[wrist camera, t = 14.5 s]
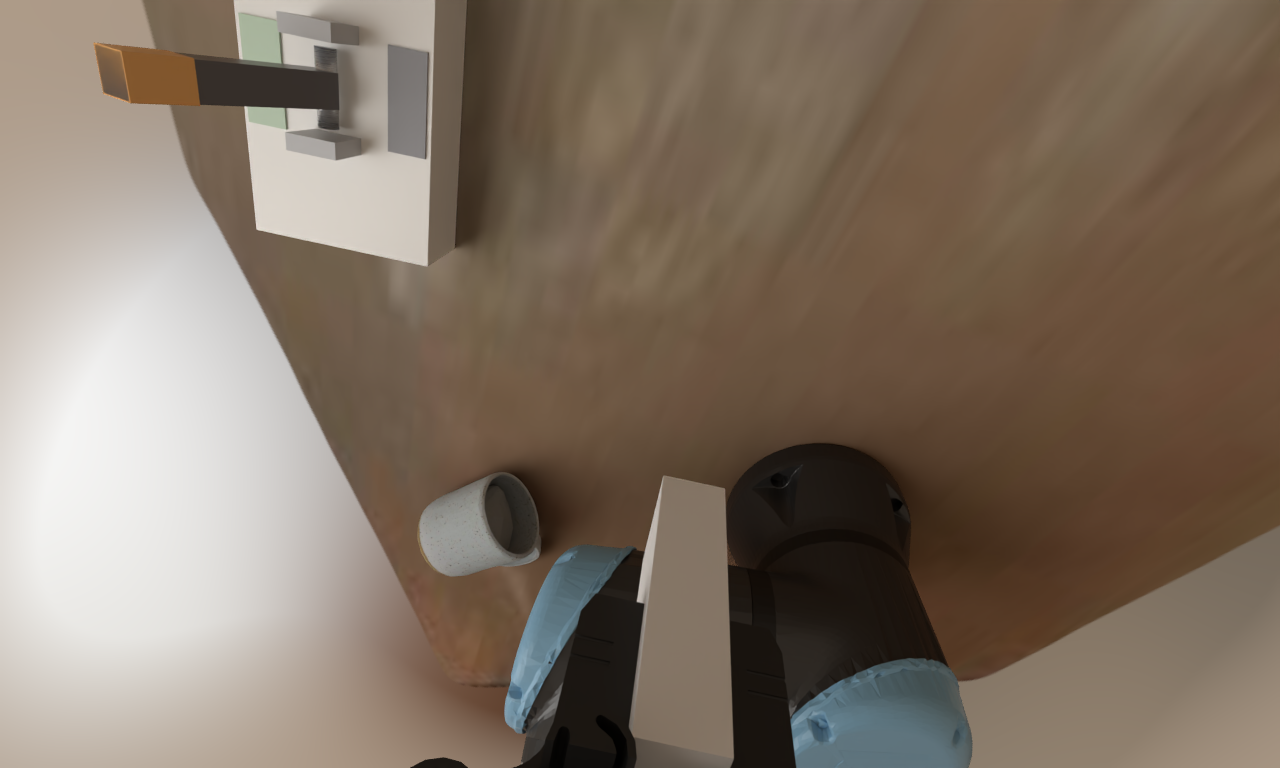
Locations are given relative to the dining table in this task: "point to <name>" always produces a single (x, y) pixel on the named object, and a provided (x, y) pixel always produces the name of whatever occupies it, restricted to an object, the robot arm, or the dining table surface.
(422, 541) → the ceramic mug
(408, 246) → the switch box
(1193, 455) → the dining table surface
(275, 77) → the switch lever
